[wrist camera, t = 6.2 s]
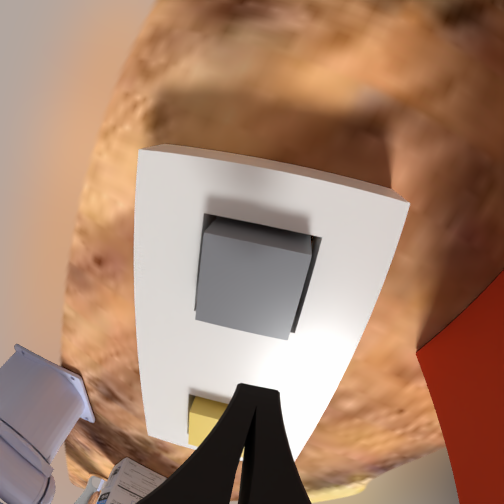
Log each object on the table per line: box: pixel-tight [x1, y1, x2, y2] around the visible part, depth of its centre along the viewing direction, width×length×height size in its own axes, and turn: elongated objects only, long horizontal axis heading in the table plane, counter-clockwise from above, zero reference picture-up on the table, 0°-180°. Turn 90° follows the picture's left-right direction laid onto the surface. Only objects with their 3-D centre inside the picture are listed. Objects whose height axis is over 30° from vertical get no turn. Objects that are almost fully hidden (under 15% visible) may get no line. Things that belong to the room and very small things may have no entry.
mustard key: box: [188, 396, 244, 457], centre depth 20 cm, size 4×4×3 cm
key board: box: [134, 144, 410, 462], centre depth 18 cm, size 12×22×3 cm, turn 171°
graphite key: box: [195, 216, 312, 341], centre depth 15 cm, size 4×4×3 cm
